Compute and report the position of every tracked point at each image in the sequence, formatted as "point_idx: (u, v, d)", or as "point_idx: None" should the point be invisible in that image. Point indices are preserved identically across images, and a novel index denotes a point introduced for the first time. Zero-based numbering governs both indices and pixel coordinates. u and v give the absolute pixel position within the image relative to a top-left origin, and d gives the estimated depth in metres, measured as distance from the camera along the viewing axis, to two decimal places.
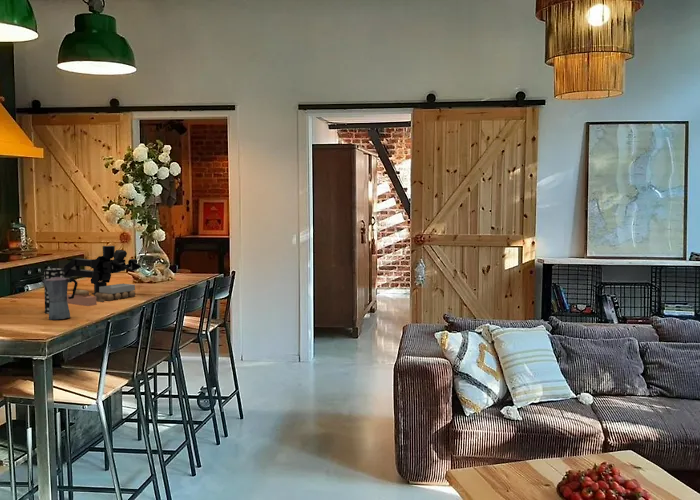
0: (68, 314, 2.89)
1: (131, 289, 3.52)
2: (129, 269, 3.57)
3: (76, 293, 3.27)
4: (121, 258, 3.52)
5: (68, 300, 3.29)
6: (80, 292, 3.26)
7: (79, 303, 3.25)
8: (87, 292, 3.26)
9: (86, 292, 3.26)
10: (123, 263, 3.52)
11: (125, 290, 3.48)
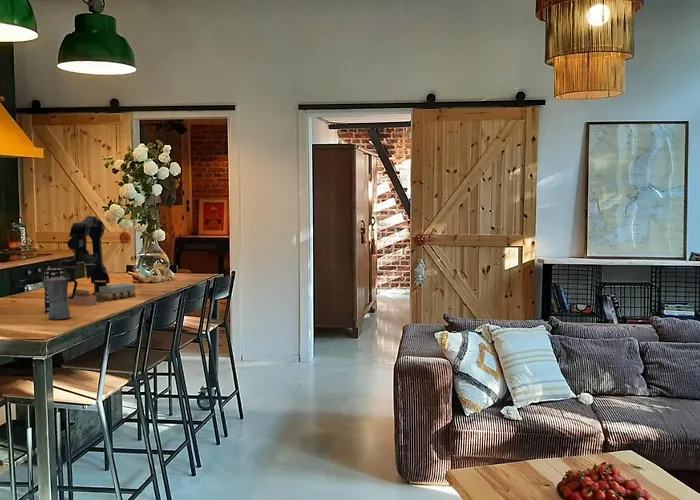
0: (68, 314, 2.89)
1: (131, 289, 3.52)
2: None
3: (76, 293, 3.27)
4: None
5: (68, 300, 3.29)
6: (80, 292, 3.26)
7: (79, 303, 3.25)
8: (87, 292, 3.26)
9: (86, 292, 3.26)
10: (83, 262, 3.27)
11: (125, 290, 3.48)
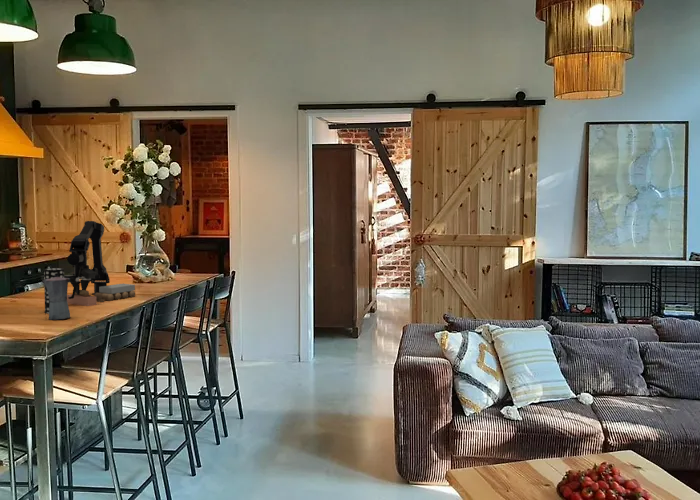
0: (68, 314, 2.89)
1: (131, 289, 3.52)
2: None
3: (76, 293, 3.27)
4: None
5: (68, 300, 3.29)
6: (80, 292, 3.26)
7: (79, 303, 3.25)
8: (87, 292, 3.26)
9: (86, 292, 3.26)
10: None
11: (125, 290, 3.48)
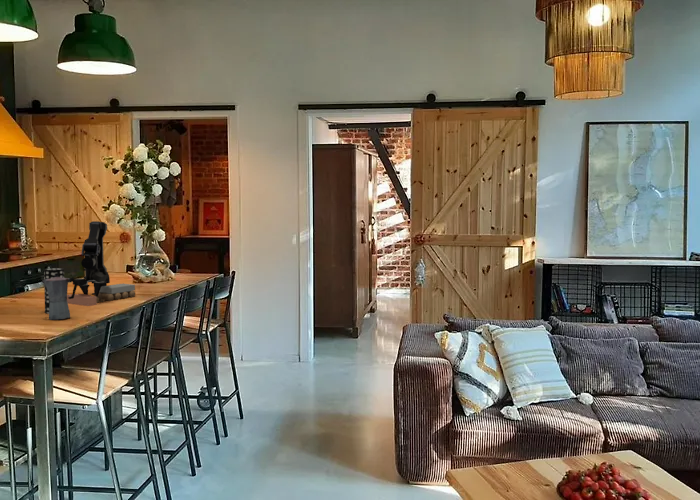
0: (68, 314, 2.89)
1: (131, 289, 3.52)
2: None
3: None
4: None
5: (68, 300, 3.29)
6: None
7: (79, 303, 3.25)
8: (97, 299, 3.32)
9: (96, 299, 3.32)
10: None
11: (125, 290, 3.48)
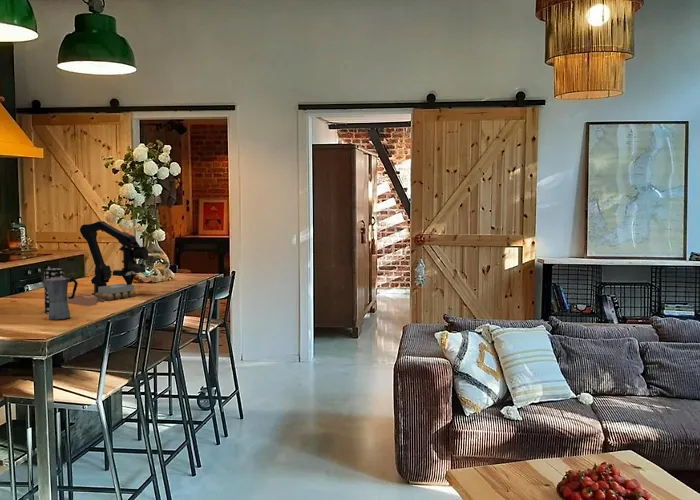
0: (68, 314, 2.89)
1: (130, 289, 3.51)
2: None
3: None
4: None
5: (68, 300, 3.29)
6: None
7: (79, 303, 3.25)
8: (96, 299, 3.32)
9: None
10: None
11: (124, 290, 3.47)
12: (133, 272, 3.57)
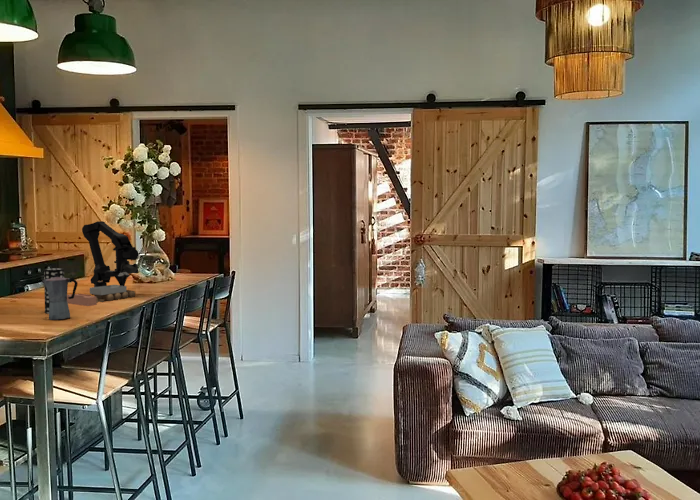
0: (68, 314, 2.89)
1: (122, 290, 3.46)
2: None
3: None
4: None
5: (68, 300, 3.29)
6: None
7: (79, 303, 3.25)
8: None
9: None
10: None
11: (116, 291, 3.43)
12: (126, 273, 3.52)
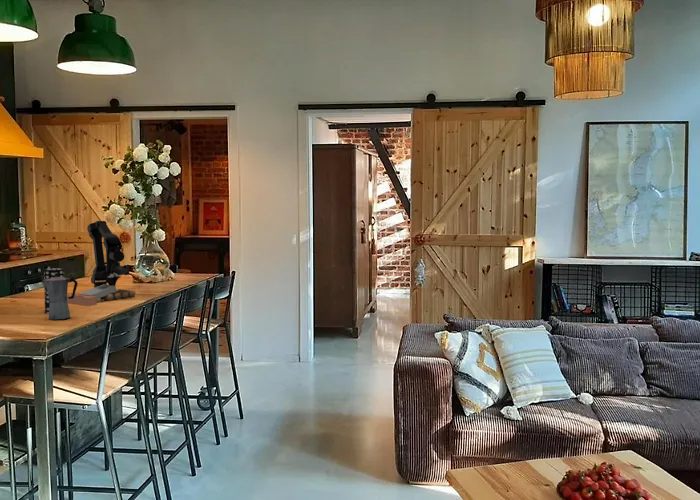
0: (68, 314, 2.89)
1: (112, 291, 3.40)
2: None
3: None
4: None
5: (68, 300, 3.29)
6: None
7: (79, 303, 3.25)
8: (99, 300, 3.34)
9: (99, 300, 3.33)
10: None
11: (105, 294, 3.37)
12: (116, 274, 3.46)
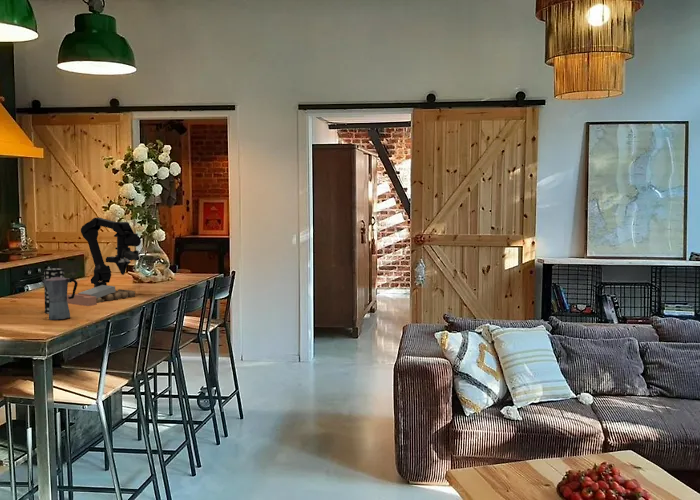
0: (68, 314, 2.89)
1: (111, 291, 3.40)
2: None
3: None
4: None
5: (68, 300, 3.29)
6: None
7: (79, 303, 3.25)
8: (100, 299, 3.34)
9: (99, 299, 3.33)
10: None
11: (105, 294, 3.37)
12: (127, 259, 3.52)
